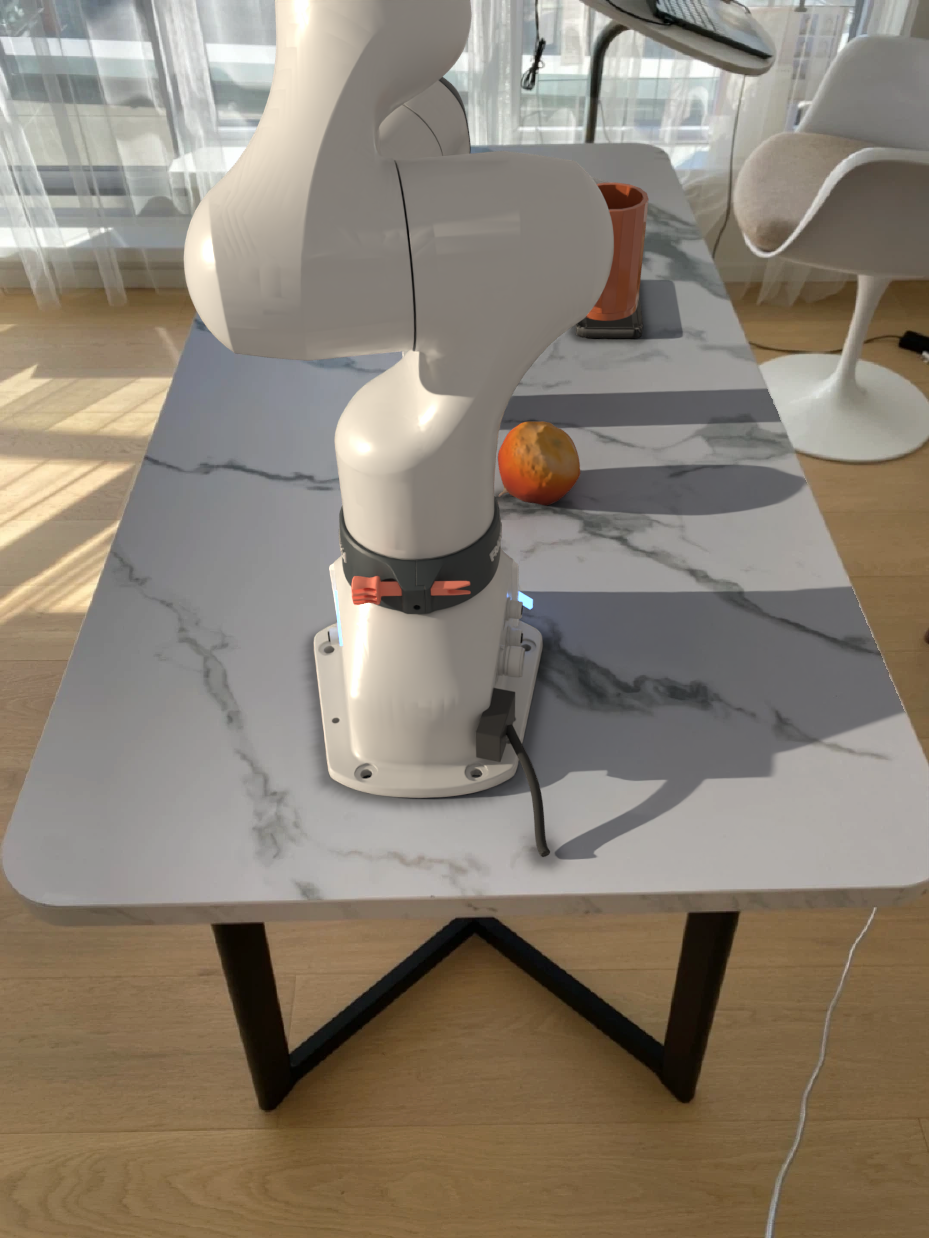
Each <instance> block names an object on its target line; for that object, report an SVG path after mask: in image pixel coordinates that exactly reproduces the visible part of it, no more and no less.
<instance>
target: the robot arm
mask: <svg viewBox="0 0 929 1238" xmlns="http://www.w3.org/2000/svg"><path fill="white" fill-rule="evenodd" d="M274 13H275V15H274V16H275V60H274V68H273V73H272V80H271V85H270V90H269V94H268V97H267V101H266V103H265V107H264V110H263V113H262V115H261V116H260V118H259V121H258V124H257V126H256V129H255V130H254V132H253V135H252V136H251V138H250V140H249V141H248V144H247V145H246V147H245V148H244V150H243V151H242V153H241V154H240V156H239V157H238V159H237V160H236V162H235V163H234V164H233V165H232V166H231V168H230V169H228V171H227V172H226V173H225V174H224V176H222V178H220V179H219V180H218V182H216V183H215V184H214V185H213V186H212V187H211V188H210V189H209V190H208V191H207V192H206V193H205V195H204V196H203V198H202V199H201V200H200V201H199V204H198V205H197V206H196V209H195V211H194V212H193V214H192V216H191V219H190V223H189V225H188V229H187V231H186V236H185V241H184V249H183V268H184V269H183V270H184V279H185V282H186V286H187V290H188V294H189V296H190V299H191V303H192V304H193V306H194V308H195V310H196V312H197V314H198V316H199V317H200V319H201V321H202V323H203V324H204V325H205V327H206V328H207V330H209V332H210V333H211V334H212V336H214V338H215V339H217V341H219V342H220V343H221V344H222V345H223V346H224V347H225V348H227V349H228V350H229V351H231V352H232V353H233V354H236V355H243V356H252V357H258V358H259V357H260V358H269V359H278V360H289V361H291V360H292V361H302V362H310V361H312V362H313V361H322V360H331V359H340V358H341V359H343V358H350V357H360V356H370V355H379V354H390V353H399V352H402V351H408V352H407V353H406V354H405V356H404V357H402V358H400V359H399V361H397V362H396V363H395V364H393V365H392V366H391V367H389V368H388V369H386V370H385V371H383V372H382V373H380V374H379V375H377V376H375V377H374V378H372V379H371V380H369V381H368V382H366V383H365V384H364V385H362V386H361V387H360V388H359V389H358V390H357V391H356V392H355V394H354V395H353V396H352V397H351V399H350V400H349V401H348V403H347V405H346V406H345V408H344V409H343V411H342V413H341V415H340V417H339V419H338V421H337V424H336V428H335V432H334V451H335V458H336V459H335V460H336V465H337V466H336V467H337V473H338V481H339V490H340V496H341V497H340V498H341V503H342V504H341V507H340V510H339V515H338V516H339V517H338V518H339V520H338V523H339V525H338V526H339V528H338V542H339V551H340V556H339V557H338V558H337V559H335V560H334V561H333V563H332V564H330V565H329V567H328V569H329V575H330V582H331V588H332V594H333V595H332V596H333V601H334V607H335V614H336V620H337V622H335V623H332V624H330V625H327V627H324V628H323V629H321V630H320V631H318V632H317V633H316V634H315V635H314V637H313V655H314V662H315V663H314V664H315V670H316V680H317V688H318V696H319V704H320V705H319V707H320V713H321V721H322V730H323V739H324V740H323V741H324V748H325V757H326V763H327V764H326V765H327V771H328V774H329V776H330V778H331V779H332V780H333V781H335V782H337V783H338V784H341V785H343V786H344V787H347V788H350V789H351V790H355V791H358V792H362V793H366V794H370V795H377V796H383V797H393V798H411V799H412V798H414V799H415V798H417V799H424V798H445V797H454V796H455V797H456V796H463V795H467V794H473V793H477V792H481V791H485V790H488V789H492V788H494V787H496V786H499V785H500V784H503V783H504V782H506V781H508V780H510V779H512V778H513V777H514V776H515V774H516V772H517V769H518V765H519V763H520V765H521V768H522V770H523V772H524V774H525V777H526V780H527V781H526V782H527V784H528V787H529V791H530V796H531V801H532V802H531V803H532V812H533V825H534V839H535V845H536V849H537V853H538V854H539V856H540V857H542V858H546V857H547V856H549V855H550V854H551V850H550V849H549V847H548V844H547V837H546V827H545V826H546V824H545V810H544V802H543V796H542V795H543V794H542V791H541V786H540V783H539V779H538V777H537V773H536V771H535V768H534V765H533V763H532V761H531V759H530V757H529V755H528V753H527V751H526V749H525V747H524V745H523V743H524V737H525V733H526V728H527V724H528V718H529V714H530V709H531V705H532V699H533V696H534V695H533V694H534V691H535V687H536V686H535V685H536V681H537V676H538V672H539V667H540V662H541V657H542V652H543V648H544V643H543V635H542V633H541V632H540V631H539V629H538V628H536V627H534V626H532V625H530V624H528V623H526V622H524V621H522V620H521V619H522V618H523V611H524V607H525V608H527V609H528V610H531V609H533V607H534V605H533V604H534V599H533V598H531V597H529V596H528V595H526V594H524V593H523V592H521V591H520V581H519V579H520V578H519V573H520V571H519V570H520V569H519V563H518V562H516V561H515V560H514V559H513V558H512V556H509V555H508V554H507V553H506V552H505V551H504V549H503V548H501V547H502V543H501V541H502V538H503V537H502V535H503V524H502V523H503V522H502V517H501V511H500V505H499V502H498V500H497V497H496V496H495V481H496V480H495V479H496V476H495V475H496V462H497V450H498V442H499V434H500V428H501V425H502V424H501V423H502V420H503V417H504V414H505V411H506V409H507V407H508V404H509V403H510V400H511V398H512V396H513V394H514V392H515V391H516V389H517V387H518V385H519V384H520V383H521V381H522V379H523V378H524V377H525V375H526V373H527V372H528V371H529V370H530V368H531V367H532V365H533V364H534V363H535V362H536V361H537V360H538V358H540V356H541V355H542V354H543V353H544V351H546V350H547V349H548V348H549V347H550V346H551V345H552V344H553V343H554V342H555V341H556V340H557V339H558V338H559V337H561V336H562V335H564V333H566V332H567V331H569V330H570V329H572V327H574V326H576V324H577V323H578V322H580V321H581V320H583V319H584V318H585V317H586V316H587V315H588V313H589V312H590V311H591V310H592V308H593V307H594V305H595V304H596V302H597V301H598V299H599V298H600V296H601V294H602V292H603V290H604V288H605V285H606V283H607V280H608V277H609V274H610V270H611V266H612V261H613V253H614V235H613V226H612V220H611V216H610V213H609V210H608V206H607V204H606V201H605V199H604V197H603V195H602V193H601V191H600V189H599V188H598V186H597V184H599V183H612V182H610V181H608V180H606V179H605V180H604V179H602V178H598V177H594V176H591V175H590V174H589V172H587V170H586V169H585V168H584V167H583V166H581V164H579V163H578V161H576V160H573V159H567V158H561V157H553V156H548V155H541V154H535V153H524V152H517V151H507V150H496V151H486V152H485V151H484V152H472V144H471V136H470V129H469V123H468V117H467V112H466V108H465V103H464V101H463V99H462V97H461V95H460V92H459V91H458V89H457V88H456V86H455V85H453V84H452V82H451V81H449V80H448V79H446V78H445V77H444V76H445V75H446V74H447V73H448V72H450V70H451V69H452V68H453V67H454V66H455V64H456V63H457V62H458V61H459V59H460V58H461V55H462V54H463V52H464V50H465V48H466V46H467V43H468V40H469V36H470V32H471V27H472V18H473V17H472V15H473V13H472V2H471V0H274ZM471 152H472V153H471ZM476 775H478V777H474V776H476ZM367 776H370V777H367ZM364 777H367V778H364Z"/></svg>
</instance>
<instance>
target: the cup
mask: <svg viewBox="0 0 929 1238" xmlns="http://www.w3.org/2000/svg"><path fill="white" fill-rule="evenodd" d="M597 186H598V188H599V189H600V191H601V193H602V195H603V197H604V199H605V201H606V204H607V206H608V210H609V213H610V216H611V220H612V226H613V235H614V253H613V261H612V266H611V270H610V274H609V277H608V280H607V283H606V285H605V288H604V290H603V292H602V294H601V296H600V298H599V299H598V301H597V302H596V304H595V305H594V307H593V308H592V310H591V311H590V312H589V313H588V315H587V316H586V318H589V319H593V320H601V321H612V320H619V319H623V318H626V317H628V316H630V315H631V314H633V313H634V312H635V311H636V309H637V304H638V299H639V296H640V288H641V279H642V268H643V259H644V250H645V249H644V248H645V238H646V229H647V221H648V208H649V200H650V199H649V195H648V193H647V191H645V190H644V189H642V188H641V187H638V186H636V185H633V184H630V183H623V182H614V181H613V182H611V183H599V184H597Z"/></svg>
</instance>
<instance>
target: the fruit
mask: <svg viewBox="0 0 929 1238" xmlns="http://www.w3.org/2000/svg"><path fill="white" fill-rule="evenodd" d="M497 463H498V465H497V466H498V472H499V476H500V479H501V483H502V486H503V490H502V491H500V493H498V497H499V498H500V497H502V496H503V495H505V494H509V495H510V496H512V497H514V498H516V499H517V500H520V501H521V502H524V503H529V504H535V505H541V506H545V507H546V506H550V505H553V504H555V503H557V502H559V501H560V500H562V499H563V498H564V497H565V496H566V495H567V494H568V493H569V492H570V491H571V490H572V489H573V488H574V486H575V485H576V483H577V481H578V480H579V478H580V476H581V464H580V457H579V452H578V450H577V447H576V444H575V442H574V440H573V439H572V437H571V436H570V435H569V434H568V433H567V432H566V431H565V430H563V429H562V428H559V427H557V426H555V425H554V424H553V423H551V422H548V421H524V422H521V423H519V424H517V425H516V426H515V427H513V428H512V429H511V430H509V431H508V433H507V434H506V436H505V438H504V439H503V441H502V443H501V445H500V447H499V449H498V453H497Z"/></svg>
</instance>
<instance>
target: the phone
mask: <svg viewBox="0 0 929 1238" xmlns="http://www.w3.org/2000/svg"><path fill="white" fill-rule="evenodd" d="M642 312H643V311H642V306H641V297H640V295H639V299H638V304H637V309H636V311H635V312H634V313H633V314H631V315H630V316H628V317H626V318H623V319H619V320H612V321H601V320H593V319H589V318H586V317H585V318H584V319H583V320H581V321H580V322H578V323H577V324H575V334H576V335H577V336H578V337H579V338H584V339H585V338H587V339H637V338H640V337H641V336H642V335H643V330H644V329H643V328H644V321H643V313H642Z"/></svg>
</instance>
